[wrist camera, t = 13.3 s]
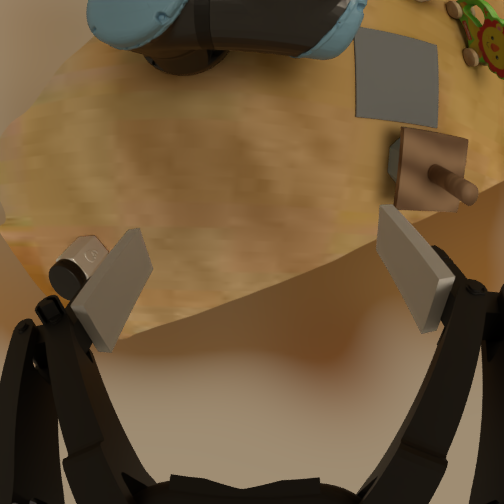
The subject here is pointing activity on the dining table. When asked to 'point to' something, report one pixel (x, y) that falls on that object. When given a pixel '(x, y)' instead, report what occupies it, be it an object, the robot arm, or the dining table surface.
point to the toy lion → (481, 34)
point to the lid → (432, 172)
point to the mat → (396, 78)
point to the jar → (76, 265)
